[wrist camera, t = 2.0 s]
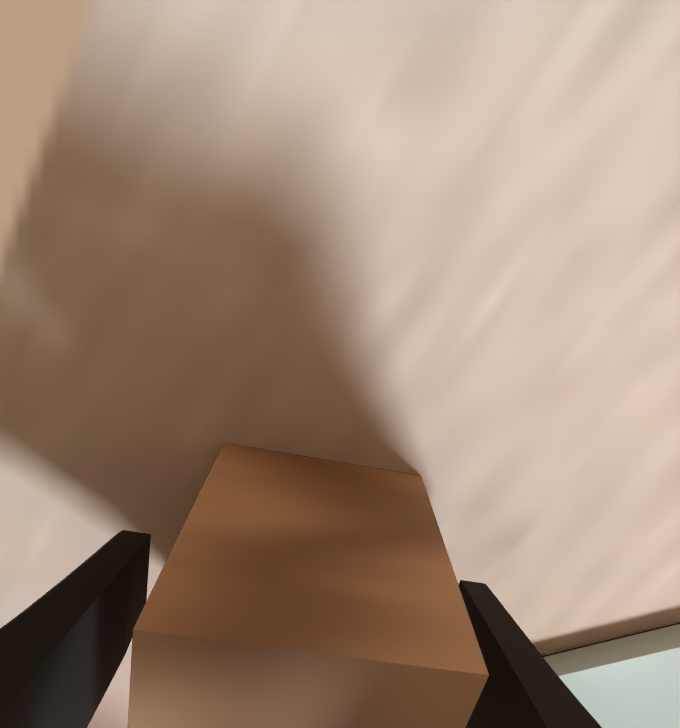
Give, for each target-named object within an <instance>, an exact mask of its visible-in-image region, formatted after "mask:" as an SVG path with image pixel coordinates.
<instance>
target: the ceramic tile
mask: <svg viewBox="0 0 680 728" xmlns="http://www.w3.org/2000/svg"><path fill="white" fill-rule="evenodd" d="M543 658H544V659H545V660H546V662H547V663H548V664H549V665H550V667H551V668H552V669H553V670H554V671H555V673H556V674H557V675H558V676H559V678H560V679H561V680H562V681H563V682H564V684H565V685H566V686H567V687H568V688H569V690H570V691H571V692H572V693H573V694H574V696H575V697H576V698H577V699H578V700H579V702H580V703H581V704H582V705H583V706H584V707H585V709H586V710H587V711H588V712H589V713H590V714H591V715H592V717H593V718H594V719H595V720H596V721H597V722H598V723H599V725H600V726H601V727H602V728H680V624H677V625H673V626H669V627H665V628H661V629H657V630H652V631H648V632H644V633H640V634H636V635H632V636H628V637H624V638H620V639H616V640H611V641H607V642H603V643H599V644H595V645H591V646H587V647H583V648H579V649H575V650H570V651H566V652H562V653H558V654H554V655H550V656H546V657H543Z"/></svg>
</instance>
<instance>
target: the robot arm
mask: <svg viewBox="0 0 680 728" xmlns="http://www.w3.org/2000/svg"><path fill="white" fill-rule="evenodd" d="M150 537H151V534H146V533H139V532H132V531H126V530H122V531H121V532H119V533H118V534H116V535H115V536H114V537H113V538H112V539H111V540H109V541H108V542H107V543H106V544H105V545H104V546H102V547H101V548H100V549H99V550H98V551H97V552H95V553H94V554H93V555H92V556H91V557H90V558H88V559H87V560H86V561H85V562H84V563H82V564H81V565H80V566H79V567H78V568H76V569H75V570H74V571H73V572H72V573H70V574H69V575H68V576H67V577H66V578H64V579H63V580H62V581H61V582H60V583H58V584H57V585H56V586H55V587H53V588H52V589H51V590H50V591H48V592H47V593H46V594H45V595H43V596H42V597H41V598H40V599H38V600H37V601H36V602H34V603H33V604H32V605H31V606H29V607H28V608H27V609H26V610H24V611H23V612H22V613H21V614H19V615H18V616H17V617H15V618H14V619H13V620H11V621H10V622H9V623H7V624H6V625H4V626H3V627H2V628H0V728H87V726H88V724H89V723H90V721H91V719H92V717H93V715H94V713H95V711H96V709H97V707H98V705H99V704H100V702H101V700H102V698H103V696H104V694H105V692H106V690H107V688H108V686H109V684H110V683H111V681H112V679H113V677H114V675H115V673H116V671H117V669H118V667H119V665H120V663H121V661H122V659H123V657H124V656H125V654H126V651H127V649H128V646H129V644H130V642H131V639H132V637H133V628H134V626H135V624H136V622H137V620H138V618H139V616H140V614H141V612H142V610H143V608H144V606H145V604H146V597H147V582H148V567H149V552H150ZM458 586H459V589H460V591H461V594H462V597H463V600H464V603H465V606H466V609H467V612H468V615H469V618H470V621H471V624H472V627H473V630H474V632H475V635H476V638H477V641H478V644H479V647H480V650H481V653H482V656H483V659H484V662H485V665H486V668H487V671H488V674H489V676H488V679H487V681H486V683H485V685H484V688H483V690H482V692H481V694H480V696H479V699H478V701H477V703H476V705H475V708H474V710H473V712H472V714H471V716H470V719H469V721H468V723H467V725H466V728H602V727H601V726H600V725H599V723H598V722H597V721H596V720H595V719H594V718H593V717H592V715H591V714H590V713H589V712H588V711H587V710H586V709H585V707H584V706H583V705H582V704H581V703H580V702H579V700H578V699H577V698H576V697H575V696H574V694H573V693H572V692H571V691H570V690H569V688H568V687H567V686H566V685H565V684H564V682H563V681H562V680H561V679H560V678H559V676H558V675H557V674H556V673H555V671H554V670H553V669H552V668H551V667H550V665H549V664H548V663H547V662H546V660H545V659H544V658H543V657H542V655H541V654H540V653H539V652H538V650H537V649H536V648H535V646H534V645H533V644H532V643H531V641H530V640H529V639H528V638H527V636H526V635H525V634H524V632H523V631H522V630H521V629H520V627H519V626H518V625H517V623H516V622H515V621H514V620H513V618H512V617H511V616H510V614H509V613H508V612H507V611H506V609H505V608H504V607H503V605H502V604H501V603H500V602H499V600H498V599H497V598H496V596H495V595H494V594H493V593H492V591H491V590H490V589H489V588H488V587H487V585H486V584H483V583H477V582H470V581H463V580H460V583H459V585H458Z"/></svg>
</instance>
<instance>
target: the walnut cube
mask: <svg viewBox="0 0 680 728" xmlns="http://www.w3.org/2000/svg"><path fill="white" fill-rule="evenodd" d="M488 676H489V674H488V671H487V668H486V665H485V662H484V659H483V656H482V653H481V650H480V647H479V644H478V641H477V638H476V635H475V632H474V630H473V627H472V624H471V621H470V618H469V615H468V612H467V609H466V606H465V603H464V600H463V597H462V594H461V591H460V589H459V586H458V583H457V580H456V577H455V574H454V571H453V568H452V565H451V562H450V559H449V556H448V553H447V550H446V547H445V545H444V542H443V539H442V536H441V533H440V530H439V527H438V524H437V521H436V518H435V515H434V512H433V509H432V506H431V504H430V501H429V498H428V495H427V492H426V489H425V486H424V483H423V480H422V477H421V476H419V475H413V474H407V473H401V472H395V471H389V470H383V469H377V468H371V467H365V466H359V465H353V464H347V463H341V462H335V461H329V460H323V459H317V458H311V457H305V456H299V455H293V454H287V453H281V452H275V451H269V450H263V449H257V448H251V447H245V446H239V445H233V444H227V443H223V445H222V447H221V449H220V451H219V453H218V455H217V458H216V460H215V462H214V464H213V466H212V468H211V470H210V472H209V474H208V476H207V478H206V480H205V482H204V484H203V486H202V488H201V490H200V493H199V495H198V497H197V499H196V501H195V503H194V505H193V507H192V509H191V511H190V513H189V515H188V517H187V519H186V521H185V523H184V525H183V528H182V530H181V532H180V534H179V536H178V538H177V540H176V542H175V544H174V546H173V548H172V550H171V552H170V554H169V556H168V558H167V560H166V563H165V565H164V567H163V569H162V571H161V573H160V575H159V577H158V579H157V581H156V583H155V585H154V587H153V589H152V591H151V593H150V595H149V598H148V600H147V602H146V604H145V606H144V608H143V610H142V612H141V614H140V616H139V618H138V620H137V622H136V624H135V626H134V628H133V638H132V657H131V675H130V693H129V712H128V728H466V725H467V723H468V721H469V719H470V716H471V714H472V712H473V710H474V708H475V705H476V703H477V701H478V699H479V696H480V694H481V692H482V690H483V688H484V685H485V683H486V681H487V679H488Z"/></svg>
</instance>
